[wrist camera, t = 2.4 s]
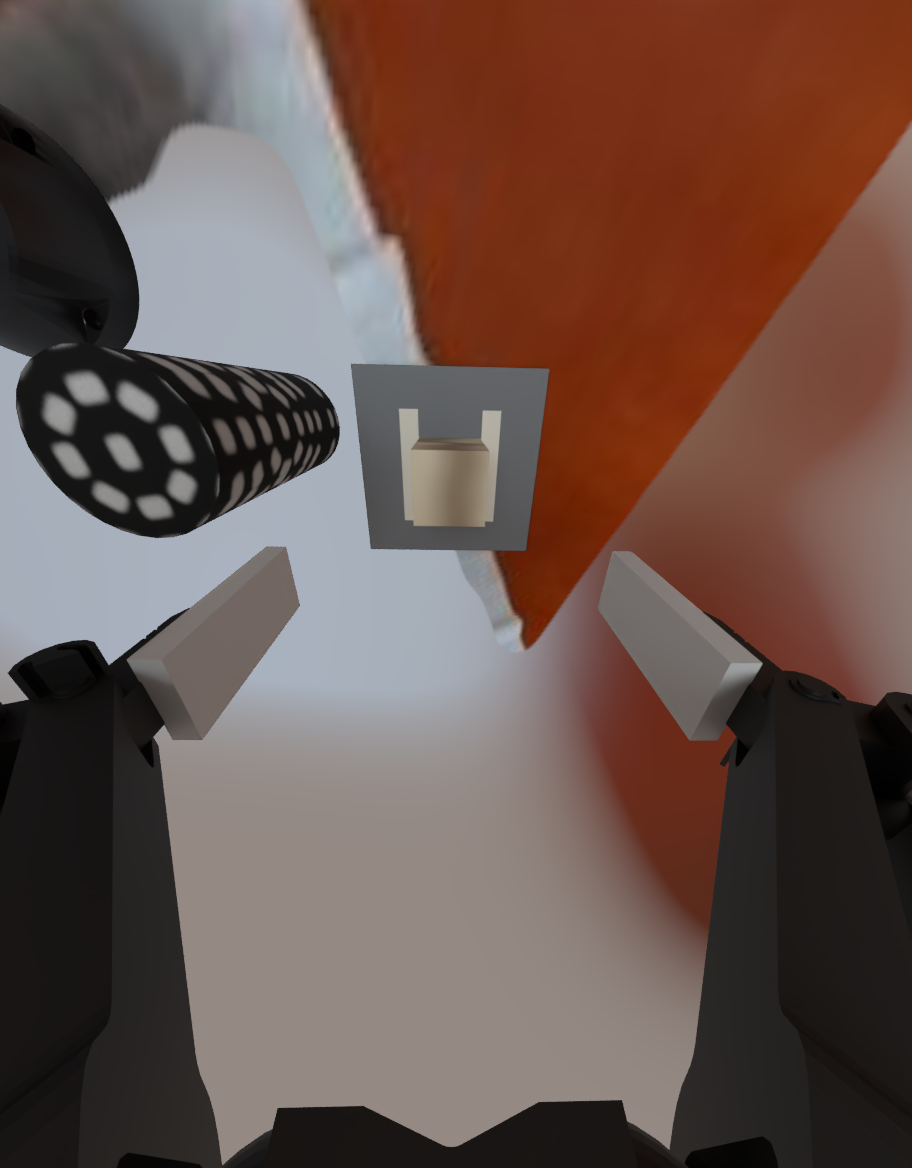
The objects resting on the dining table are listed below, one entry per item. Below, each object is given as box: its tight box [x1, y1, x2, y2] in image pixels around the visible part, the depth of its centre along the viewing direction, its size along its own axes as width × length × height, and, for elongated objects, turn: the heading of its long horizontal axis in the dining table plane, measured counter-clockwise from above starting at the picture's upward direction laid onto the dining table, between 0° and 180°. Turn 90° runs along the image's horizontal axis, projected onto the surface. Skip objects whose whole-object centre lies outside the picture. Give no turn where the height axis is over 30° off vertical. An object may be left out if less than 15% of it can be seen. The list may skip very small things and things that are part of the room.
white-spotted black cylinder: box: [16, 343, 340, 538], centre depth 24 cm, size 8×8×20 cm
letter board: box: [351, 364, 549, 551], centre depth 35 cm, size 18×18×1 cm
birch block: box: [410, 437, 490, 527], centre depth 31 cm, size 6×6×9 cm
